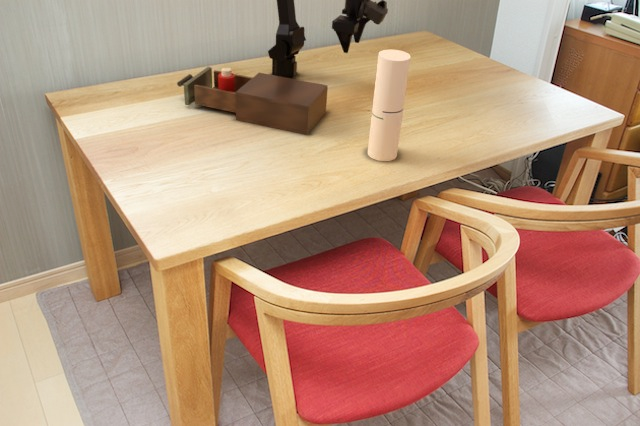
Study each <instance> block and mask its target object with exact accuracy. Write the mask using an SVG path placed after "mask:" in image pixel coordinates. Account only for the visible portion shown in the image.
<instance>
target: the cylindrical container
mask: <svg viewBox="0 0 640 426" xmlns="http://www.w3.org/2000/svg"><path fill="white" fill-rule="evenodd" d="M410 64H411V55H410V53H408V52H406V51H403V50H401V49H383V50H380V51H379V52H378V56H377V66H376V72H375V73H376V75H375V84H374V92H373V100H372V109H371V119H370V126H369V136H368V145H367V155H368V157H370V158H371V159H373V160H375V161H379V162H389V161H390V162H391V161H394V160H395V159H396V158H397V156H398V150H399V144H400V143H399V142H400V135H401V129H402V128H401V127H402V121H403V114H404V106H405V100H406V93H407V85H408V77H409V72H410V71H409V70H410Z"/></svg>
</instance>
